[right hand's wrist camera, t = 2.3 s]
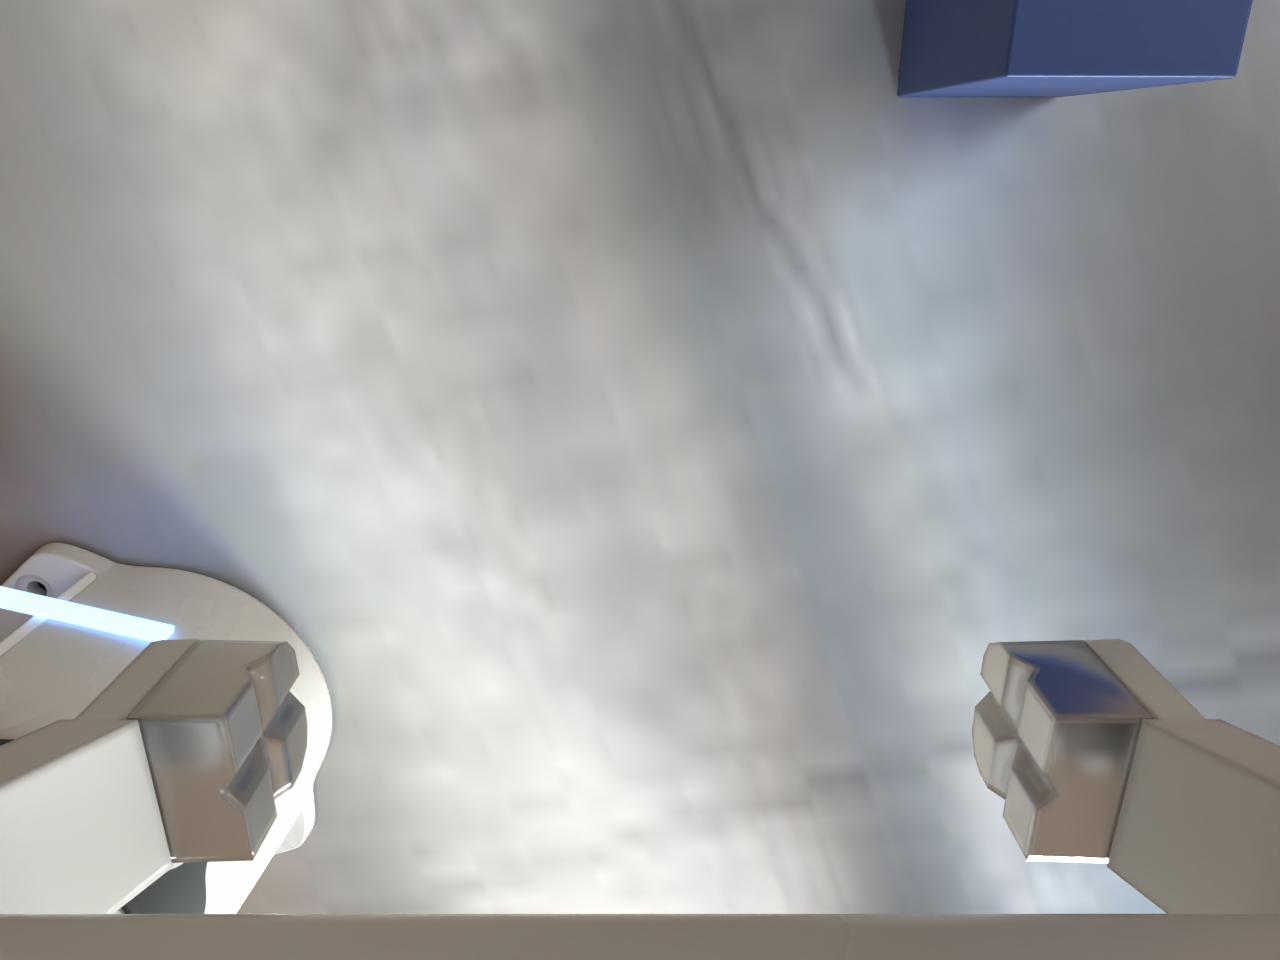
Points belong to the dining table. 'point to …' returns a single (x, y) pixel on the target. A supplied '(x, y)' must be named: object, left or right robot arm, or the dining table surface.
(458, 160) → the dining table surface
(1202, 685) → the dining table surface
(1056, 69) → the box
